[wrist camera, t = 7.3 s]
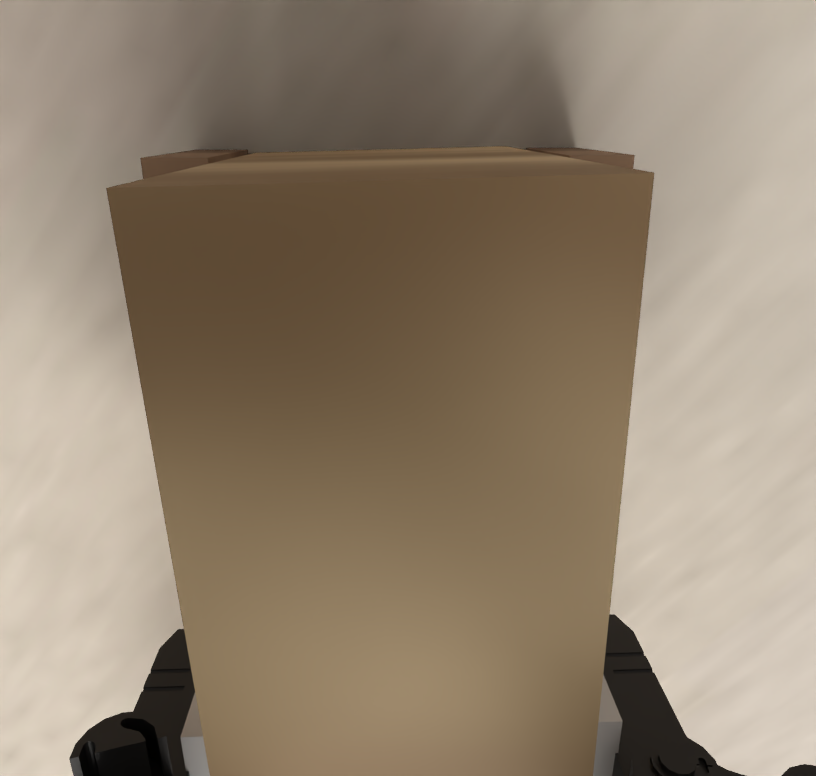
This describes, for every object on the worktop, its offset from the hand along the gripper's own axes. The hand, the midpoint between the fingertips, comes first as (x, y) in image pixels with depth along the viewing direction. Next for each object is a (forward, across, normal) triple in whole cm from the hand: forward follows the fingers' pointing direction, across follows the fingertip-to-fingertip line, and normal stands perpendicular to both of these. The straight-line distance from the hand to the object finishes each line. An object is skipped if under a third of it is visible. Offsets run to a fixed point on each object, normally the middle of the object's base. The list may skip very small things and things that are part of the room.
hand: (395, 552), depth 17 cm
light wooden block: (0, 0, +1) cm, 1 cm away
